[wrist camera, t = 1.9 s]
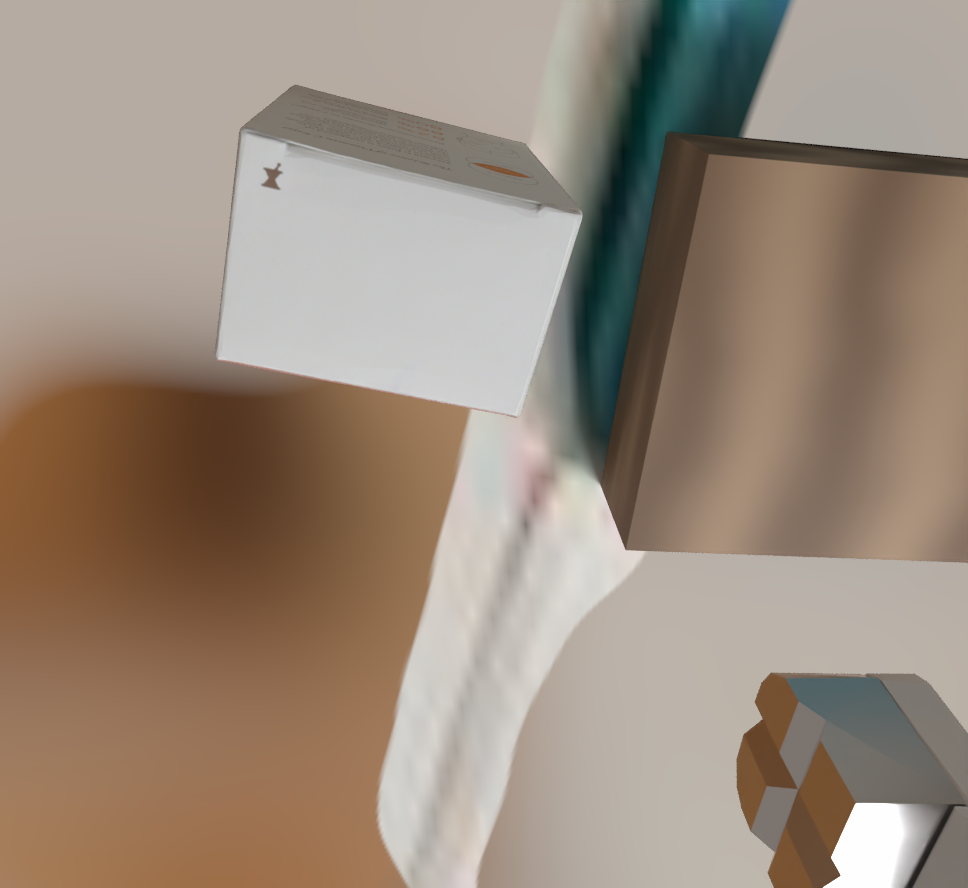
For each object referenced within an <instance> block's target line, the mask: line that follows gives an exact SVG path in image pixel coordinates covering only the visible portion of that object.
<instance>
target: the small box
mask: <svg viewBox="0 0 968 888" xmlns="http://www.w3.org/2000/svg"><path fill="white" fill-rule="evenodd" d="M581 221H582V211H581V210H580V208H579V207H578V206H577V205H576V204H575V202H574V201H573V200H572V199H571V197H570V196H569V195H568V194H567V193H566V192H565V190H564V189H563V188H562V187H561V186H560V184H559V183H558V182H557V181H556V180H555V179H554V177H553V176H552V175H551V174H550V173H549V171H548V170H547V169H546V168H545V167H544V166H543V164H542V163H541V162H540V161H539V160H538V159H537V157H536V156H535V155H534V154H533V153H532V152H531V150H530V149H529V148H528V147H527V145H526V144H524V143H522V142H517V141H512V140H508V139H504V138H500V137H496V136H492V135H488V134H485V133H480V132H477V131H473V130H469V129H465V128H461V127H457V126H453V125H449V124H445V123H441V122H438V121H434V120H430V119H425V118H422V117H418V116H414V115H410V114H406V113H402V112H398V111H394V110H390V109H386V108H382V107H379V106H375V105H371V104H367V103H363V102H359V101H355V100H351V99H347V98H343V97H339V96H335V95H331V94H327V93H324V92H320V91H316V90H313V89H309V88H306V87H302V86H298V85H294V86H292V87H290V88H289V89H288V90H287V91H286V92H285V93H283V94H282V95H281V96H280V97H279V98H277V99H276V100H275V101H274V102H272V103H271V104H270V105H269V106H268V107H266V108H265V109H264V110H263V111H261V112H260V113H259V114H257V116H255V117H254V118H252V119H251V120H250V121H249V122H248V123H246V124H245V125H244V126H243V127H242V128H241V129H240V132H239V142H238V150H237V160H236V168H235V178H234V187H233V196H232V205H231V215H230V224H229V233H228V242H227V251H226V260H225V268H224V277H223V286H222V295H221V304H220V312H219V321H218V330H217V339H216V347H215V356H216V359H217V360H219V361H226V362H231V363H237V364H241V365H246V366H251V367H256V368H261V369H266V370H271V371H277V372H282V373H288V374H293V375H298V376H304V377H309V378H315V379H319V380H324V381H330V382H335V383H341V384H347V385H352V386H357V387H362V388H367V389H372V390H378V391H383V392H388V393H392V394H399V395H404V396H409V397H414V398H419V399H425V400H430V401H435V402H441V403H445V404H450V405H456V406H461V407H466V408H471V409H476V410H481V411H486V412H491V413H497V414H502V415H507V416H511V417H515V418H517V417H519V415H520V414H521V412H522V408H523V405H524V402H525V399H526V396H527V393H528V389H529V386H530V383H531V380H532V377H533V374H534V371H535V368H536V364H537V361H538V358H539V355H540V352H541V349H542V345H543V342H544V339H545V336H546V333H547V329H548V326H549V323H550V320H551V317H552V313H553V310H554V307H555V304H556V301H557V297H558V294H559V291H560V288H561V285H562V282H563V278H564V275H565V272H566V269H567V265H568V262H569V259H570V256H571V253H572V249H573V246H574V243H575V240H576V237H577V233H578V230H579V227H580V224H581Z"/></svg>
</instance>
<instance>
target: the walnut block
mask: <svg viewBox="0 0 968 888" xmlns="http://www.w3.org/2000/svg"><path fill="white" fill-rule="evenodd" d="M601 487H602V490H603V492H604V495H605V498H606V500H607V503H608V505H609V508H610V511H611V513H612V516H613V518H614V521H615V524H616V526H617V529H618V531H619V534H620V536H621V539H622V542H623V544H624V547H625V549H626V550H637V551H665V552H692V553H693V552H694V553H719V554H747V555H774V556H802V557H829V558H858V559H884V560H912V561H939V562H967V563H968V159H964V158H955V157H944V156H934V155H923V154H912V153H902V152H890V151H879V150H870V149H859V148H849V147H838V146H827V145H817V144H806V143H795V142H785V141H774V140H764V139H752V138H743V139H740V138H729V137H718V136H708V135H697V134H687V133H676V132H667V133H666V139H665V144H664V149H663V155H662V160H661V165H660V171H659V176H658V181H657V187H656V192H655V198H654V203H653V208H652V214H651V219H650V224H649V230H648V235H647V241H646V246H645V251H644V257H643V262H642V267H641V273H640V278H639V284H638V289H637V294H636V300H635V305H634V310H633V316H632V321H631V326H630V332H629V337H628V343H627V348H626V353H625V359H624V364H623V369H622V375H621V380H620V386H619V391H618V396H617V402H616V407H615V412H614V418H613V423H612V429H611V434H610V439H609V445H608V450H607V455H606V461H605V466H604V471H603V477H602V482H601Z"/></svg>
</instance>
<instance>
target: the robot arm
mask: <svg viewBox="0 0 968 888" xmlns="http://www.w3.org/2000/svg"><path fill="white" fill-rule="evenodd" d="M755 704H756V706H757V708H758V710H759V712H760V714H761V716H762V718H763V719H762V720H761V721H760V722H759V723H758V724H756V725H755V726H754V727H752V728H751V729H750V730H749V731H748V732H746V733H745V734H744V735H743V739H742V742H741V746H740V749H739V753H738V757H737V790H738V794H739V798H740V803H741V808H742V811H743V813H744V816H745V818H746V821H747V823H748V826H749V828H750V831H751V832H752V833H753V834H754V835H755V836H757V837H758V838H759V839H760V840H761V841H762V842H764V843H765V844H766V845H767V846H768V847H769V848H771V849H772V850H773V851H774V855H773V858H772V861H771V864H770V867H769V870H768V874H769V877H770V879H771V882H772V884H773V886H774V888H968V733H967V732H966V730H965V729H964V728H963V726H962V725H961V724H960V723H959V721H958V720H957V719H956V717H955V716H954V715H953V713H952V712H951V711H950V710H949V708H948V707H947V706H946V704H945V703H944V702H943V701H942V699H941V698H940V697H939V695H938V694H937V693H936V691H935V690H934V689H933V688H932V686H931V685H930V684H929V683H928V682H927V681H925V680H924V679H922V678H921V677H919V676H917V675H916V674H866V675H861V674H822V673H821V674H820V673H818V674H817V673H770V674H769V676H768V677H767V678H766V679H765V680H764V681H763V682H762V683H761V686H760V689H759V691H758V694H757V697H756V700H755Z"/></svg>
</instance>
